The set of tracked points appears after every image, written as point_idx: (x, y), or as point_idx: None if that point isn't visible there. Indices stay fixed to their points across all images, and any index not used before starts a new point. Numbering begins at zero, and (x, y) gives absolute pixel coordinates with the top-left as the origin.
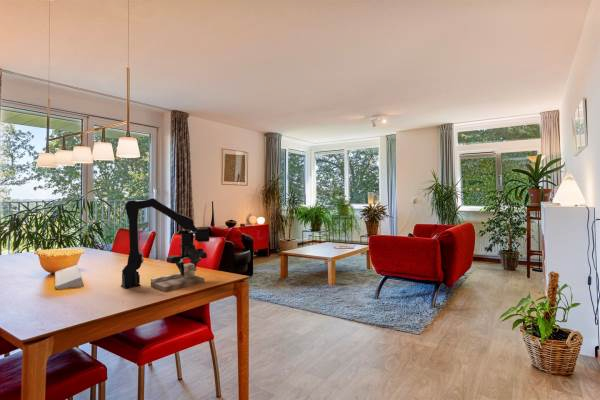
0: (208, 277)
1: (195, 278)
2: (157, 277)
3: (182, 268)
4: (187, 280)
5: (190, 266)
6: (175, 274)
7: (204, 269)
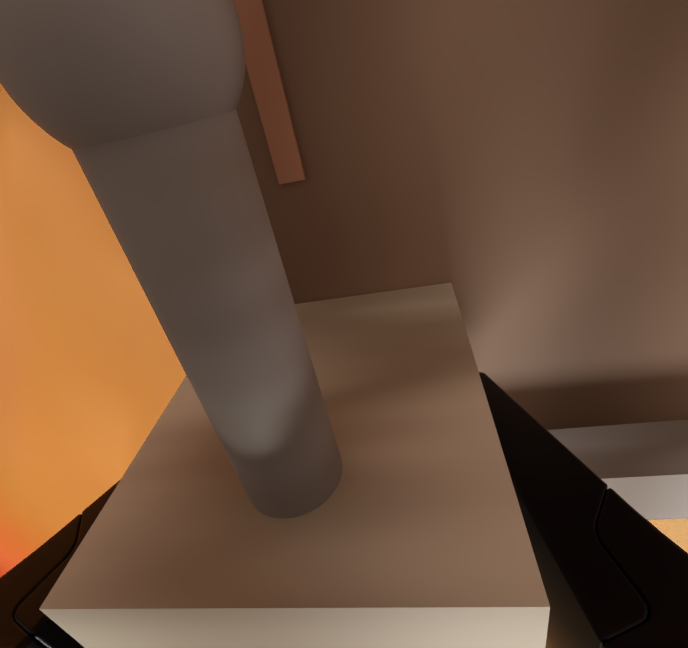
0: (7, 313)
1: (251, 86)
2: None
3: (601, 523)
4: (523, 9)
5: (253, 532)
6: None
7: None
